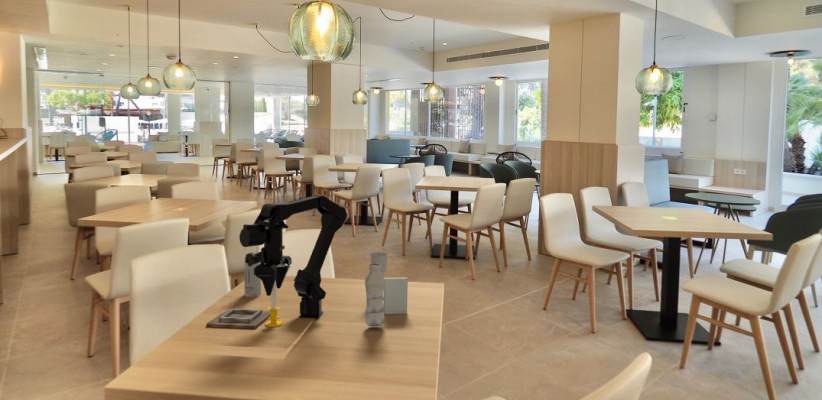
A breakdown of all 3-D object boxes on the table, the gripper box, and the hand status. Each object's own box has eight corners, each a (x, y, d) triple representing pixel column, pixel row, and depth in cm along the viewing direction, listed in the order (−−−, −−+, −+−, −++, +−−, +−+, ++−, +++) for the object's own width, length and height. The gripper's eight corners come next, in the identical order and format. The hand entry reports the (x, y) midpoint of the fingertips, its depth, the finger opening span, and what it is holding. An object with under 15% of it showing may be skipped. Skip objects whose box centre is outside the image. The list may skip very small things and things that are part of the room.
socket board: (273, 314, 185) (273, 307, 185) (255, 328, 169) (255, 322, 169) (227, 312, 186) (227, 306, 186) (206, 326, 170) (206, 319, 170)
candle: (281, 326, 171) (280, 278, 170) (264, 327, 170) (263, 278, 169) (282, 321, 176) (282, 274, 175) (266, 322, 176) (265, 275, 174)
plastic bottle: (388, 324, 176) (389, 263, 174) (378, 330, 169) (379, 267, 168) (370, 321, 178) (371, 261, 177) (360, 327, 172) (360, 265, 171)
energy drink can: (241, 297, 205) (240, 258, 204) (254, 294, 210) (253, 256, 209) (251, 300, 202) (251, 260, 201) (264, 297, 207) (264, 258, 205)
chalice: (391, 301, 204) (392, 253, 202) (381, 305, 198) (381, 256, 196) (375, 298, 207) (376, 251, 206) (365, 302, 202) (365, 254, 200)
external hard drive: (407, 313, 188) (407, 278, 187) (383, 314, 187) (384, 278, 186) (406, 312, 189) (407, 277, 188) (383, 313, 188) (383, 277, 187)
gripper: (259, 238, 181) (259, 284, 183) (236, 247, 163) (237, 298, 164) (291, 239, 180) (292, 285, 182) (272, 248, 162) (273, 300, 163)
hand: (273, 291), depth 173 cm, fingers open, 9 cm apart
